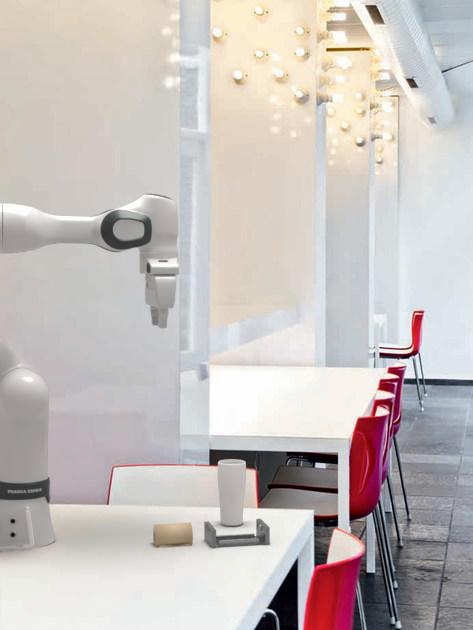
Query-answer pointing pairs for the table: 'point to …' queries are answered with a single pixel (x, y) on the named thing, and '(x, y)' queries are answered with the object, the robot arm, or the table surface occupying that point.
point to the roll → (172, 534)
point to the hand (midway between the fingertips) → (159, 326)
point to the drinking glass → (231, 491)
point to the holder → (237, 537)
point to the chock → (174, 545)
